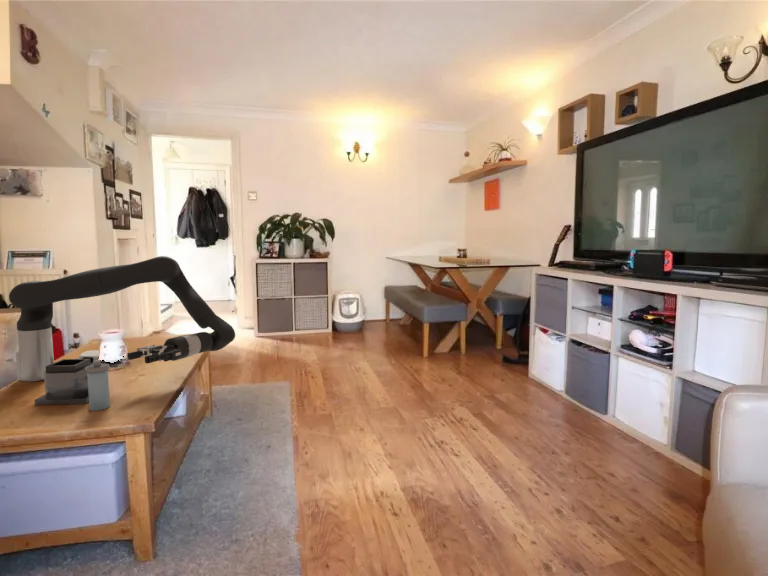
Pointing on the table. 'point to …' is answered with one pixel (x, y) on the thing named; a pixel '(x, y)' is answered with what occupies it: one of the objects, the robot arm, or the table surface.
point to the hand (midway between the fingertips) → (136, 358)
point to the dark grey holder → (65, 383)
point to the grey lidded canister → (98, 385)
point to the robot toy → (90, 355)
